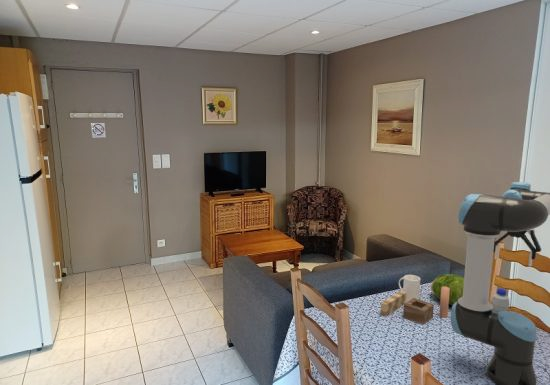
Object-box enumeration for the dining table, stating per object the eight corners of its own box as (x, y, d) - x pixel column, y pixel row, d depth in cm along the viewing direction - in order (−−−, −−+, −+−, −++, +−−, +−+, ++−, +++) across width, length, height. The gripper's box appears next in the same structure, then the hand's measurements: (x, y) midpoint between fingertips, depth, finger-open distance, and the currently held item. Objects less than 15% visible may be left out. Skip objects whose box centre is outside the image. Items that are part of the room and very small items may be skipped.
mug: (393, 296, 209) (394, 274, 207) (404, 292, 213) (405, 271, 211) (412, 304, 199) (413, 281, 197) (422, 300, 204) (424, 278, 202)
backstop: (386, 316, 186) (386, 304, 185) (380, 314, 188) (381, 302, 187) (405, 303, 200) (406, 292, 199) (400, 301, 202) (400, 290, 201)
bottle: (508, 337, 168) (513, 292, 165) (491, 335, 169) (496, 291, 166) (503, 329, 174) (507, 286, 171) (486, 327, 176) (490, 285, 172)
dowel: (445, 318, 184) (448, 290, 182) (438, 315, 187) (440, 287, 185) (448, 315, 187) (450, 287, 185) (441, 313, 189) (443, 285, 187)
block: (423, 324, 178) (424, 311, 177) (403, 317, 185) (403, 304, 184) (432, 317, 185) (433, 304, 184) (412, 310, 192) (413, 297, 191)
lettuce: (448, 297, 214) (440, 270, 215) (482, 300, 195) (473, 270, 196) (427, 307, 207) (419, 279, 208) (460, 311, 188) (451, 280, 189)
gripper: (552, 219, 170) (547, 266, 173) (489, 211, 187) (485, 254, 190) (549, 222, 164) (543, 271, 168) (484, 213, 182) (480, 257, 185)
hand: (512, 262), depth 179 cm, fingers open, 13 cm apart
